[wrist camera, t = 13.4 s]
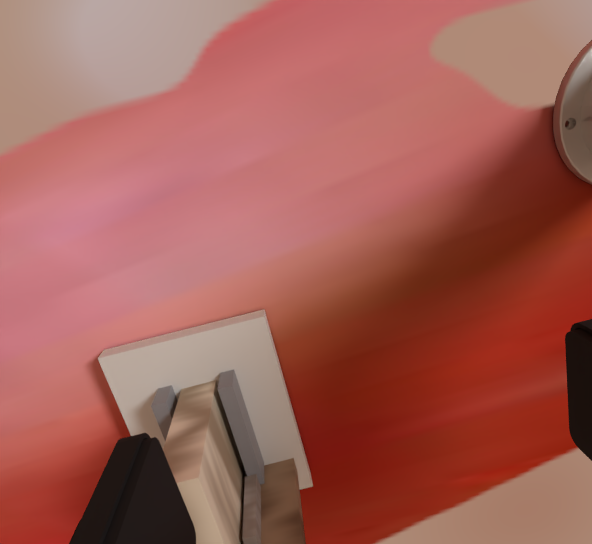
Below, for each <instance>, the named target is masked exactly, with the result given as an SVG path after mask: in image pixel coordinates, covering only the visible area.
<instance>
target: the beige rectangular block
mask: <svg viewBox="0 0 592 544" xmlns="http://www.w3.org/2000/svg"><path fill="white" fill-rule="evenodd" d="M163 451H164V454H165V456H166V459H167V461H168V464H169V466H170V468H171V471H172V473H173V476H174V478H175V481H176V483H177V486H178V488H179V490H180V493H181V495H182V498H183V500H184V503H185V505H186V508H187V510H188V512H189V515H190V517H191V520H192V522H193V525H194V528H195V532H196V544H241V531H242V508H243V486H244V465H243V462H242V459H241V457H240V454H239V451H238V448H237V445H236V442H235V439H234V436H233V433H232V430H231V427H230V424H229V421H228V419H227V416H226V413H225V410H224V407H223V404H222V401H221V398H220V395H219V392H218V385H217V382H216V380H215V381H211V382H207V383H203V384H199V385H195V386H192V387H188V388H184V389H181V392H180V395H179V399H178V402H177V405H176V409H175V412H174V415H173V418H172V422H171V425H170V428H169V431H168V435H167V438H166V441H165V444H164V448H163Z"/></svg>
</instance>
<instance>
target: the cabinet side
mask: <svg viewBox="0 0 592 544" xmlns="http://www.w3.org/2000/svg"><path fill="white" fill-rule="evenodd" d="M241 544H306V542H305V534H304V525H303V516H302V507H301V498H300V490H299V481H298V472H297V468H296V465H295V461H294V458H292V459H288V460H284V461H280V462H276V463H272V464H268V465H264V484H261V485H260V483H259V480H258V477H257V474H254V475H250V476H247V474H246V471H245V470H244V486H243V508H242V531H241Z"/></svg>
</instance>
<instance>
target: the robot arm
mask: <svg viewBox="0 0 592 544" xmlns="http://www.w3.org/2000/svg"><path fill="white" fill-rule="evenodd" d="M553 132H554V137H555V142H556V146H557V149H558V151H559V154H560V156H561V158H562V160H563V161H564V163H565V164H566V166H567V167H568V168H569V170H570V171H572V172H573V173H574V174H575V175H576V176H577V177H578V178H580V179H582V180H583V181H585V182H587V183H589V184H592V40H591V41H590V42H589V44H587V46H585V47H584V48H583V49H582V50H581V52H580V53H579V54H578V55H577V57H576V58H575V59H574V61H573V62H572V63H571V65H570V67H569V68H568V71H567V72H566V74H565V76H564V78H563V80H562V82H561V85H560V88H559V91H558V94H557V96H556V101H555V107H554V113H553ZM565 344H566V366H567V387H568V409H569V429H570V434H571V437H572V439H573V441H574V443H575V444H576V445H577V447H578V448H579V449H580V450H581V451H582V452H583V453H584V454H585V455H586V456H587V457H589V459H591V460H592V319H590V320H586V321H582V322H578V323H575V324H574V325H572V327H571V331H570V332H568V333H567V334H566V337H565ZM69 544H196V532H195V528H194V525H193V522H192V520H191V517H190V515H189V512H188V510H187V508H186V505H185V503H184V500H183V498H182V495H181V493H180V490H179V488H178V486H177V483H176V481H175V478H174V476H173V473H172V471H171V468H170V466H169V464H168V461H167V459H166V456H165V454H164V451H163V449H162V447H161V444H160V442H159V440H158V439H157V438H156V437H153V438H150V436H149V435H148V434H147V433H142V434H138V435H134V436H130V437H126V438H122V439H120V440H118V442H117V443H116V446H115V448H114V450H113V452H112V454H111V456H110V458H109V461H108V463H107V465H106V467H105V469H104V471H103V474H102V476H101V478H100V480H99V482H98V484H97V487H96V489H95V491H94V493H93V495H92V497H91V499H90V502H89V504H88V506H87V508H86V510H85V512H84V515H83V517H82V519H81V520H80V522H79V524H78V526H77V528H76V530H75V532H74V534H73V536H72V539H71V541H70V543H69Z"/></svg>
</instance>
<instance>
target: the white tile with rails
mask: <svg viewBox="0 0 592 544" xmlns="http://www.w3.org/2000/svg"><path fill="white" fill-rule="evenodd" d="M98 361H99V363H100V365H101V368H102V370H103V372H104V375H105V377H106V379H107V382H108V384H109V386H110V388H111V391H112V393H113V395H114V398H115V400H116V402H117V405H118V407H119V409H120V412H121V414H122V416H123V418H124V421H125V423H126V425H127V428H128V430H129V432H130V435H131V436H134V435H138V434H142V433H147V434H148V435H149V436H150V438H153V437H156V438H157V439H158V440H159V442H160V444H161V447H162V449H163V448H164V444H165V441H166V438H167V435H168V431H169V428H170V425H171V422H172V418H173V415H174V412H175V409H176V405H177V402H178V399H179V395H180V392H181V389H184V388H188V387H192V386H195V385H199V384H203V383H207V382H211V381H215V380H216V382H217V385H218V392H219V395H220V398H221V401H222V404H223V407H224V410H225V413H226V416H227V419H228V421H229V424H230V427H231V430H232V433H233V436H234V439H235V442H236V445H237V448H238V451H239V454H240V457H241V459H242V462H243V465H244V470H245V471H246V474H247V476H250V475H254V474H257V477H258V480H259V483H260V485H261V484H264V465H268V464H272V463H276V462H280V461H284V460H288V459H292V458H294V461H295V465H296V468H297V472H298V481H299V490H301V489H305V488H309V487H313V483H312V477H311V472H310V469H309V465H308V462H307V458H306V454H305V451H304V447H303V444H302V440H301V437H300V433H299V430H298V426H297V423H296V419H295V416H294V412H293V409H292V405H291V402H290V398H289V395H288V391H287V387H286V384H285V380H284V377H283V373H282V370H281V366H280V363H279V359H278V356H277V352H276V349H275V345H274V342H273V338H272V335H271V331H270V328H269V324H268V320H267V317H266V313H265V310H264V309H263V310H259V311H256V312H252V313H248V314H244V315H240V316H236V317H232V318H228V319H224V320H220V321H216V322H212V323H208V324H204V325H200V326H196V327H192V328H188V329H184V330H180V331H177V332H173V333H169V334H165V335H161V336H157V337H153V338H149V339H145V340H141V341H137V342H133V343H129V344H125V345H121V346H117V347H113V348H109V349H105V350H103V352H102V353H101V354H100V356H99V357H98Z"/></svg>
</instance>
